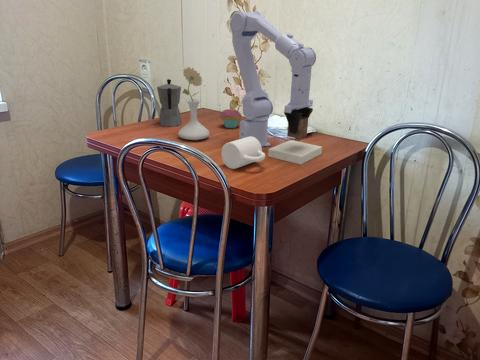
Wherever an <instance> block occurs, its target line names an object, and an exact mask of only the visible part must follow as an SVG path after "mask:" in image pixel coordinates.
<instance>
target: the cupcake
mask: <svg viewBox="0 0 480 360" xmlns="http://www.w3.org/2000/svg"><path fill="white" fill-rule="evenodd" d="M235 104H236V99H233V103H232V109H231V108H229V109H224V110H223V111H221V112H220V114H219V118H220V119H221V120H222V122H223V125H224V128H226V129H227V128H228V129H235V128H237V126H238V123H239V121H240V120H241V119H242V114H241V112H240V111H239V110H237V109H235Z"/></svg>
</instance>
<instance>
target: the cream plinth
mask: <svg viewBox="0 0 480 360" xmlns="http://www.w3.org/2000/svg"><path fill="white" fill-rule="evenodd" d="M322 151H323V146H320V145H316V144H311V143H307V142H303V141H297V140H293V139H290V140H288V141H285V142H282V143H280V144H278V145H275V146H272V147H271V148H268V152H267V153H268V155H267V156H268V157H270V158H273V159H277V160H281V161H286V162H288V163H293V164H297V165H300V166H301V165H303V164H305V163H307V162H309V161H310V160H312V159H314V158H317V157H319V156H320V155H322Z"/></svg>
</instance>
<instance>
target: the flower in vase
mask: <svg viewBox="0 0 480 360" xmlns="http://www.w3.org/2000/svg"><path fill="white" fill-rule="evenodd" d="M182 71H183V72H182V73H183V76H184V77H185V80H186V81H187V82H188V84H187V85H188V86H187V89H186V88H184V89H183V91H181V92H182V93H183V94H185V95H186V96H189V97H190V99H189V98H188V99H186V103H187V104H188V106H189V109H190V111H189V113H190V119H189V121H188V123H186V124H185V125H184V126H183V127H181V129H179V131H178V134H177V135H178V137H180V138H181V139H184V140H189V141H190V140H191V141H199V140H203V139H206V138H208V137H209V136H210V135H211V134H210V131H209V130H208V128H206V126H204V125H203V124H202V123H200V122H199V120H198V106H199V104H200V102H202V101H201V99H199V98H197V99H196V98H195V99H194V98H193V97H194V96H196V95H197V94H198V92H195V93H193V94H192V95H191V93H190V86H191V85H193V86H194V87H200V86H201V85H203V84H202V83H203V79H202V76H201V74H200V72H198V70H196V69H195V68H193V67H192V68H190V66H187V67H186V68H184V69H183V70H182ZM182 93H181V94H182Z"/></svg>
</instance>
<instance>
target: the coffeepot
mask: <svg viewBox="0 0 480 360" xmlns="http://www.w3.org/2000/svg"><path fill="white" fill-rule="evenodd" d="M171 82H172V80H171V79H170V78H168V79H166V83H165V84H160V85H159V86H156V88H157V89H156V90H157V93H158V98H159V103H160V105H161V108H160V112H159V119H158V120H159V121H158V124H159V126H161V127H166V128H167V127H169V128H170V127H172V128H173V127H178V126H181V125H182V124H183V122H182V121H183V120H182V116H181V112H180V108H179V104H180V99H181V92H182V87H181V86H179V85H177V84H174V83H171Z"/></svg>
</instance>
